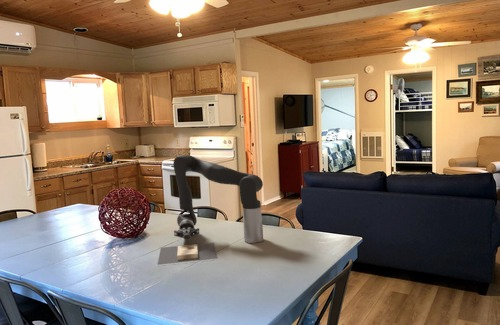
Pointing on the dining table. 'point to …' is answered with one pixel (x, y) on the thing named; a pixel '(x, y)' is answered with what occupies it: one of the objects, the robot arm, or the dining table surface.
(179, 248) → the birch tile
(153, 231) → the dining table surface
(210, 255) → the rubber mat
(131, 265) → the dining table surface
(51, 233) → the dining table surface
